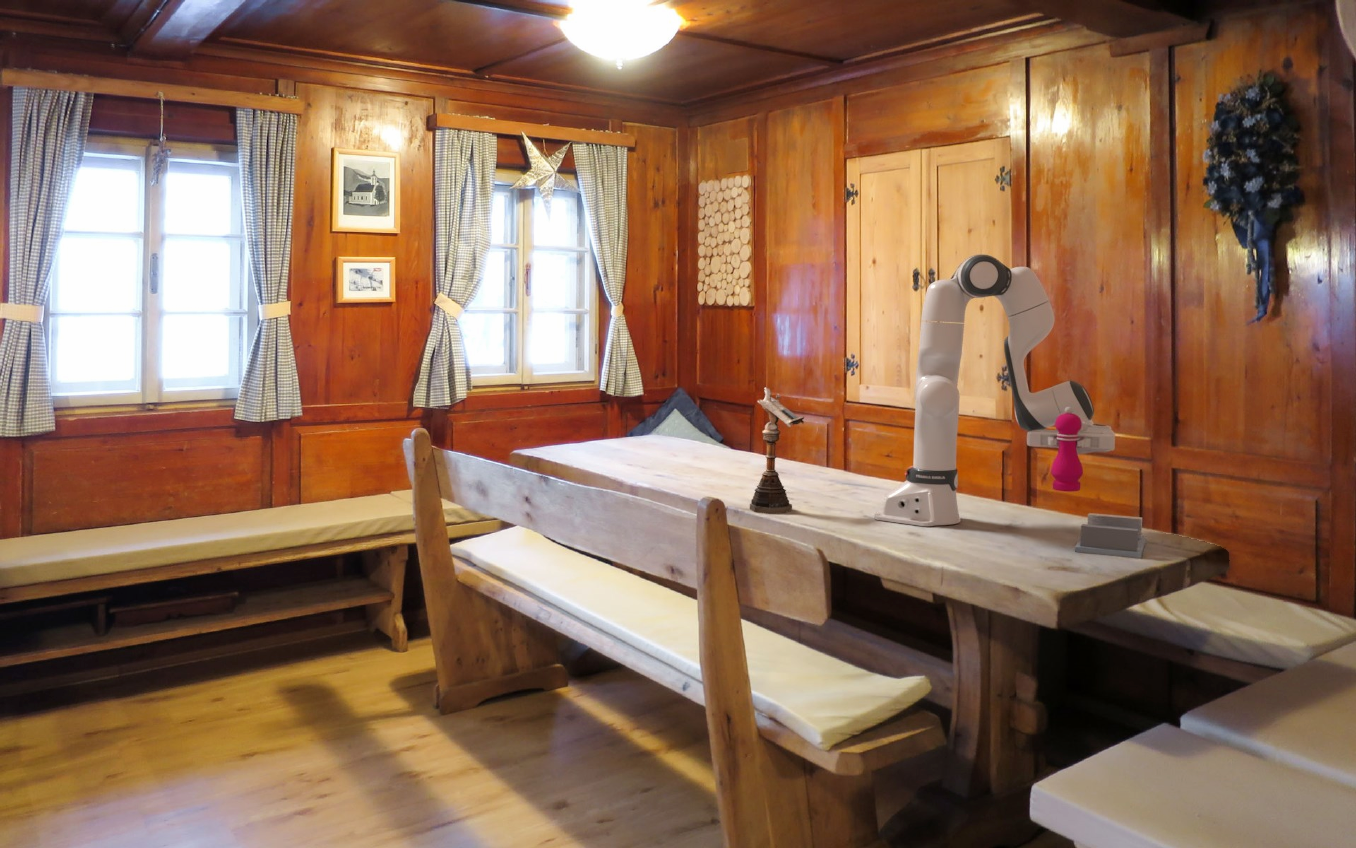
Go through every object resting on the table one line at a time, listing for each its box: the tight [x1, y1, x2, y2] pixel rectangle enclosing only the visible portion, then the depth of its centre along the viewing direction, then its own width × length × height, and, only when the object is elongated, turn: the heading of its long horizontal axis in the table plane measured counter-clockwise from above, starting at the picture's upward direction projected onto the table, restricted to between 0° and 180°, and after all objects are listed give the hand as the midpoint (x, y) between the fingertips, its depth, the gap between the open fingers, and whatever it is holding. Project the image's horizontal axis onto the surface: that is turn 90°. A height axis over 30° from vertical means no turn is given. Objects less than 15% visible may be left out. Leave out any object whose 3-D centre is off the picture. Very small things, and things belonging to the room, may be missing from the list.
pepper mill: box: [1050, 407, 1084, 493], centre depth 244 cm, size 7×7×20 cm
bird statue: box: [749, 387, 805, 515], centre depth 285 cm, size 17×13×35 cm
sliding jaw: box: [1087, 512, 1143, 539], centre depth 247 cm, size 12×2×5 cm, turn 63°
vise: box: [1074, 523, 1147, 559], centre depth 241 cm, size 14×20×6 cm
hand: (1067, 443), depth 243 cm, fingers closed on pepper mill, 5 cm apart
